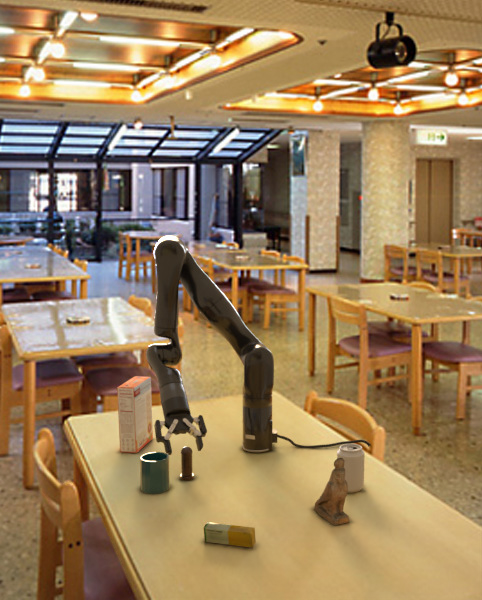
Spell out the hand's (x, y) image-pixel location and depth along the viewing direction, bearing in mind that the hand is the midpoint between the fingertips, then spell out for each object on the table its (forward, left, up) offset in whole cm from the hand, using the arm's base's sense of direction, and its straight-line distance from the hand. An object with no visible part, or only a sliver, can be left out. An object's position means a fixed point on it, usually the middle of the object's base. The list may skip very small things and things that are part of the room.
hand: (185, 451), depth 222 cm
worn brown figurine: (-38, +29, -8) cm, 48 cm away
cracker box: (+18, -28, -8) cm, 34 cm away
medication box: (-13, +43, -8) cm, 45 cm away
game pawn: (0, +1, -8) cm, 8 cm away
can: (-45, +12, -8) cm, 47 cm away
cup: (+8, +8, -8) cm, 13 cm away
